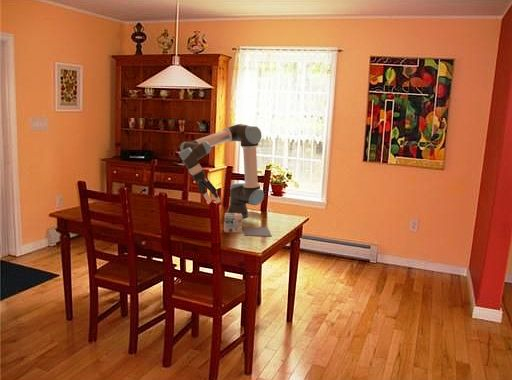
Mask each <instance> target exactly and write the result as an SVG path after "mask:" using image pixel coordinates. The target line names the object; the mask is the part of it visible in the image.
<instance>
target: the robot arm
mask: <svg viewBox="0 0 512 380" xmlns="http://www.w3.org/2000/svg"><path fill="white" fill-rule="evenodd" d="M261 140H262V130H260V128H259V126H256V125H254V124H243V123H239V124H234V125H231V126H228V127H226V128H223V130H221V131H218V132H215V133H212V134H209V135H207V136H203V137H200V138H198V139H194V140H191V141H183V142H181V144H180V145H179V149H180V152H179V156H180V159H181V160H182V162H183V163H184V165H185V166H186V168H187V170H188V173H190V175H191V176H192V178H193V180H194V181H195V183H196V185H197V187H198V190H199V193H200V194H201V195H202V196H203V197H204V199H205V201H206V202H207V204H210V203H212V202H213V200H212V198H211V197H210V195H209V193H208V192H207V190H208V191H209V192H210V193H211V195H212V197H213V199H214V200H215V203H217V204H219V203H220V202H222V200H221V197H220V196H219V195H218V193H217V188H216V187H215V186H214V184H212V182H211V181H210V180H209V178H208V177H206V178H205V176H206V173H205V171H204V169H203V168H202V166H201V164H200V162H199V160H200V159H203V157H205V156H207V155H208V154H209V153H211V151H212V147H215V146H218V145H221V144H224V143H230V142H240V147H241V148H242V150H243V151H242V152H243V168H244V171H243V173H244V182H240V183H239V182H238V183H237V182H236V183H231V185H230V189H229V190H230V192H229V193H230V195H229V205H228V208H227V211H226V213H241V214H242V216H243V217H242V219H244V218H247V217H249V210H248V206H247V205H250V206H258V205H260V204H261V203H262V202H263V200H264V198H265V193H264V191H263V189H261V184H260V183H259V181H258V159H257V158H258V157H257V147H258V146H259V143H260V142H261ZM211 201H212V202H211Z"/></svg>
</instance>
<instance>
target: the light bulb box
mask: <svg viewBox="0 0 512 380" xmlns="http://www.w3.org/2000/svg"><path fill="white" fill-rule="evenodd" d="M242 217H243V216H242V214H241V213H227V212H225V213H224V217H223V218H224V220H223V231H224V233H238V234H239V233H240V234H241V233H242V230H243V218H242Z"/></svg>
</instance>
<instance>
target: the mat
mask: <svg viewBox="0 0 512 380" xmlns="http://www.w3.org/2000/svg"><path fill="white" fill-rule="evenodd" d="M242 230H243V232H244V236H245V237H269V238H270V237H272V236H273V235H272V233H271V232H270V229H269V228H268V227H265V226H264V227H262V226H261V227H257V226H242Z"/></svg>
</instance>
